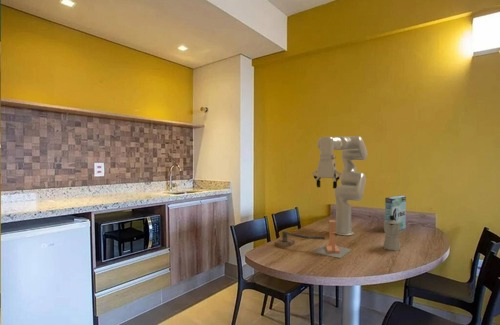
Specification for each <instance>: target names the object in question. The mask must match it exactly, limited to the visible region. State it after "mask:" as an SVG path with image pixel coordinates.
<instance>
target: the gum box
mask: <svg viewBox="0 0 500 325" xmlns="http://www.w3.org/2000/svg"><path fill="white" fill-rule="evenodd" d="M384 203H385V204H384V205H385V206H384V207H385V208H384V221H386V220H390V215H393V216H394V220H395V221H398V222H400V223H401V226H400V231H401V230H405V229H406V219H407V218H406V217H407V215H406V214H407V206H406V205H407V204H406V203H407V195H397V196H396V195H395V196H391V197H385V201H384Z"/></svg>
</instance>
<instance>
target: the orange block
mask: <svg viewBox="0 0 500 325" xmlns="http://www.w3.org/2000/svg"><path fill="white" fill-rule="evenodd" d="M328 231H329V241H328V242H329V244H327V245H325V244H324V245H325V247H326V250H327V252H328V253H340V251H339V249H338V247H339V246H338V245H337V244H336V234H335V232H336V219H329V220H328ZM337 246H338V247H337Z"/></svg>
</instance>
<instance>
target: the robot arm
mask: <svg viewBox="0 0 500 325" xmlns="http://www.w3.org/2000/svg"><path fill="white" fill-rule="evenodd" d="M316 144H317V148H318V149H319V160H318V163H317V170H316V171H314V172H312V176H313V178H314V179H315V181H316V187H317V188H321V178H322V179H323V178H325V179H332V189H334V197H335V208H336V209H335V222H336V232H335V235H339V236H348V237H349V236H353V235H354V234H355V232H354V231H353V230H352V205H351V203H350V202H349V201H356V202H357V201H361V200H362V199H363V197H364V192H365V189H366V183H367V177H366V175H365V173H363V172H360V171H358V170H357V169H358V168H357V166H356V164H355V162H353V161H365V160H366V159H367V158H368V156H369V155H368V154H369V153H368V150H367V147H366V144H365V142H364V140H363V138H362V136H359V135H358V136H357V135H353V136H342V135H339V136H322V137H320V138H319V139H318V140H317V143H316ZM339 150H340V151H341V160H342V163H343V169H342V173H340V171H337V164H336V161H335V159H336V158H337V156H335V155H334V151H339ZM339 180H340V184H339V185H338V181H339Z"/></svg>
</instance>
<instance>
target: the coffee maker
mask: <svg viewBox="0 0 500 325" xmlns="http://www.w3.org/2000/svg"><path fill="white" fill-rule="evenodd" d="M382 223H383V231H384V234H385V236H384V241H383V242H384V243H383V249H384V248H385V249H384V250H388V251H392V250H394V251H393V252H397V251H396V250H399V251H401V245H400V239H399V235H400V232H401V230H400V226H401V223H400V222H398V221H395V220H394V216H393V215H390V220H386V221H385V220H383V221H382Z"/></svg>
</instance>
